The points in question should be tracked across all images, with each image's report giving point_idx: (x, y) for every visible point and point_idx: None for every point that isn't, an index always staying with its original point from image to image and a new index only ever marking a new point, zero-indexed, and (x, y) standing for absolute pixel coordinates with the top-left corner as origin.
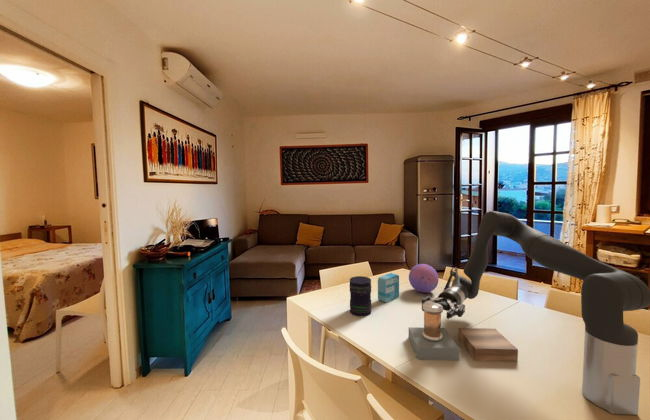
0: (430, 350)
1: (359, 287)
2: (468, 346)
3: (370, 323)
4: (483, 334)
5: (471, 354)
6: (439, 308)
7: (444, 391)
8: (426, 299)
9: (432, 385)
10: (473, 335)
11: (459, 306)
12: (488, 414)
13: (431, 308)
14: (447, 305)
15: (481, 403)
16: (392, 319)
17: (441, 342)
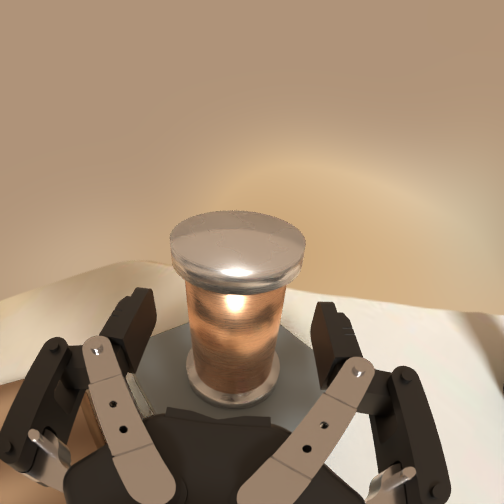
0: None
1: None
2: (94, 425)
3: (467, 379)
4: (23, 478)
5: (92, 412)
6: (189, 226)
7: (164, 276)
8: (399, 412)
9: None
10: None
11: (43, 436)
12: (101, 267)
13: (230, 216)
14: (154, 416)
15: (105, 278)
16: (465, 456)
17: (186, 353)
